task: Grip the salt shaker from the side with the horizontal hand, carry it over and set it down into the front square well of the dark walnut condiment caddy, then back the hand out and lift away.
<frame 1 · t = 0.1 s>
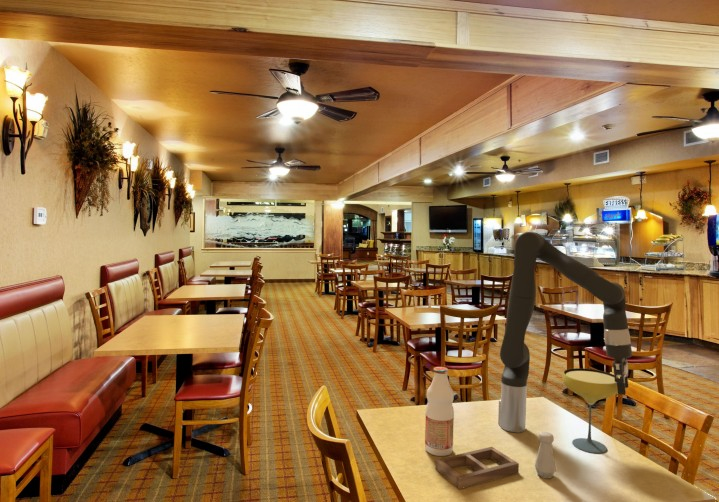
hand: (623, 390, 149), 22 cm above the table, tool pointing down, fingers open, 8 cm apart
cocktail glass: (589, 446, 157), on the table, touching gripper
fruit juice: (438, 450, 152), on the table
salt shaker: (544, 475, 137), on the table
caddy: (476, 471, 138), on the table
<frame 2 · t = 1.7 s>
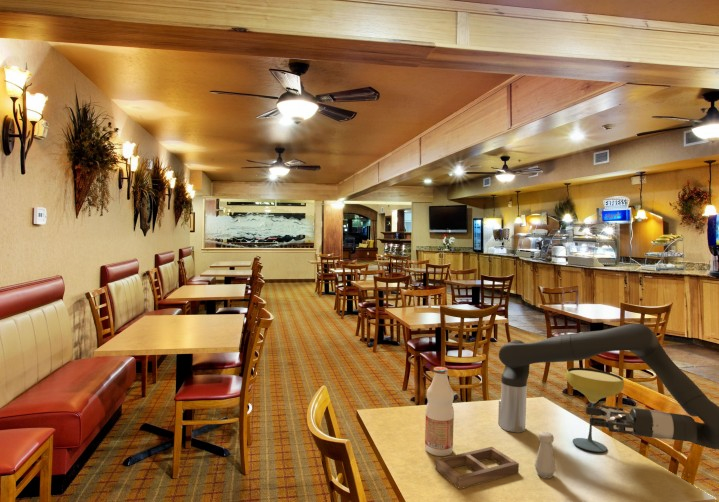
hand: (587, 415, 133), 20 cm above the table, tool horizontal, fingers open, 8 cm apart
cocktail glass: (589, 445, 157), on the table
everything else where it was.
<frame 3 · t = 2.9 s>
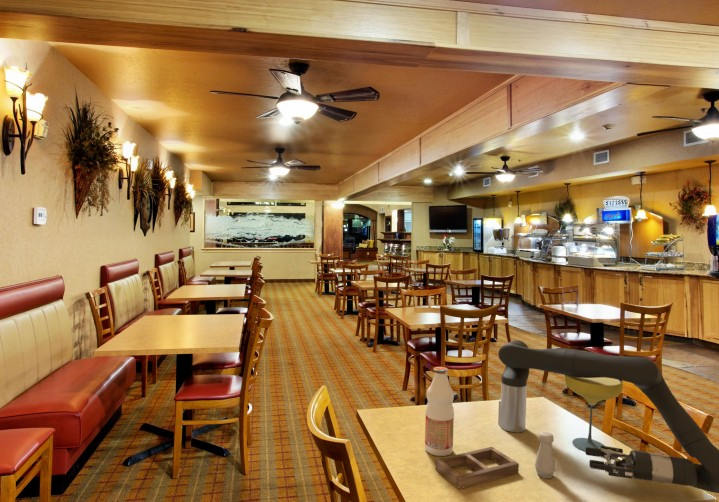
hand: (587, 457, 133), 8 cm above the table, tool horizontal, fingers open, 8 cm apart
cocktail glass: (589, 446, 157), on the table, touching arm
everything else where it was.
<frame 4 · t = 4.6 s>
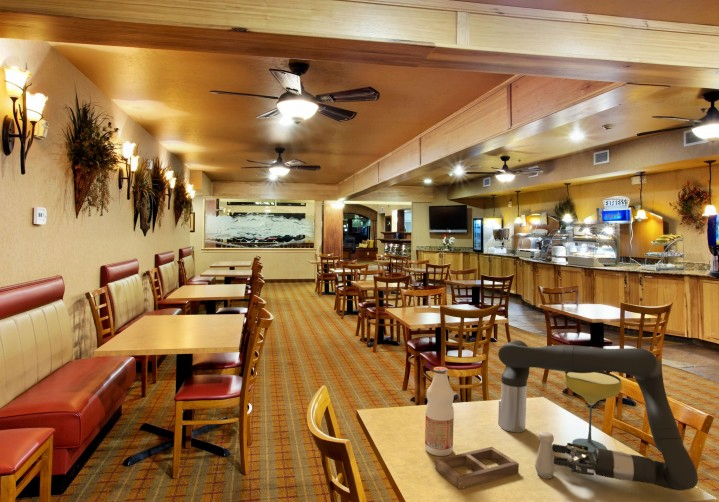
hand: (553, 453, 136), 7 cm above the table, tool horizontal, fingers open, 8 cm apart
cocktail glass: (589, 446, 157), on the table
everything else where it was.
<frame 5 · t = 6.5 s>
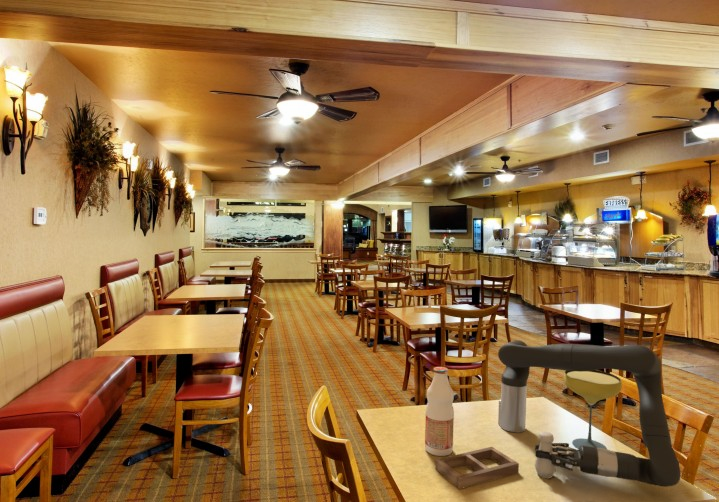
hand: (535, 450, 138), 7 cm above the table, tool horizontal, fingers closed on salt shaker, 3 cm apart
salt shaker: (544, 475, 137), on the table, touching gripper
everything else where it was.
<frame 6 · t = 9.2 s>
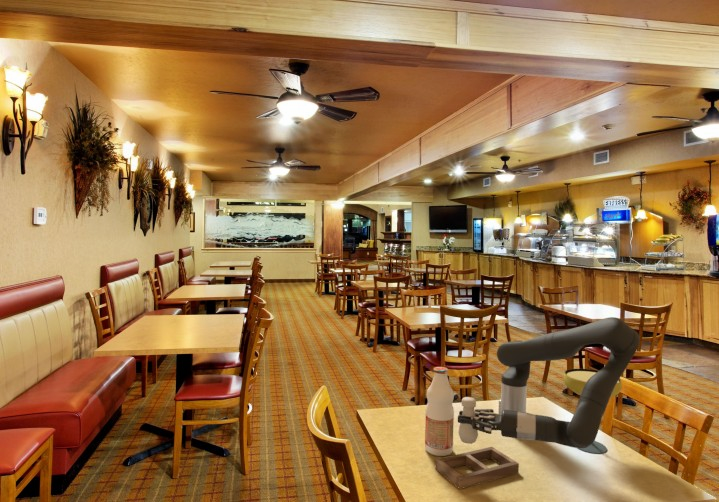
hand: (458, 416, 136), 18 cm above the table, tool horizontal, fingers closed on salt shaker, 3 cm apart
salt shaker: (468, 441, 136), point 10 cm above the table, touching gripper
everything else where it was.
when the fingers open (8 cm above the table, at t = 11.9 s): salt shaker drops 1 cm, resting in caddy.
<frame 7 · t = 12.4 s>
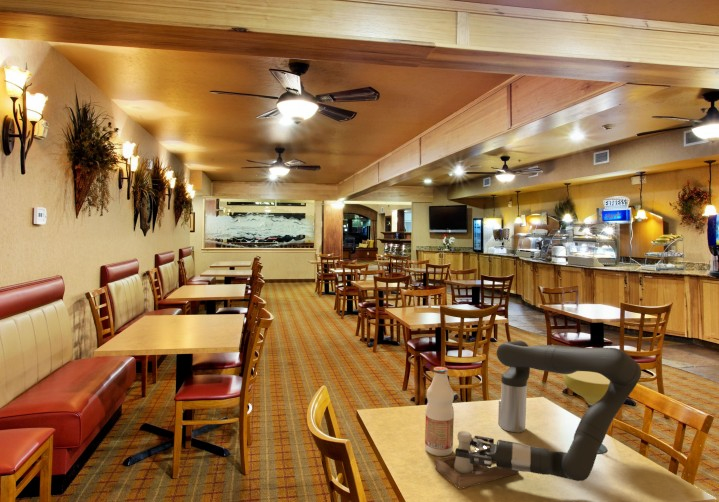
hand: (457, 446, 137), 9 cm above the table, tool horizontal, fingers open, 8 cm apart
salt shaker: (463, 475, 136), resting in caddy
everything else where it was.
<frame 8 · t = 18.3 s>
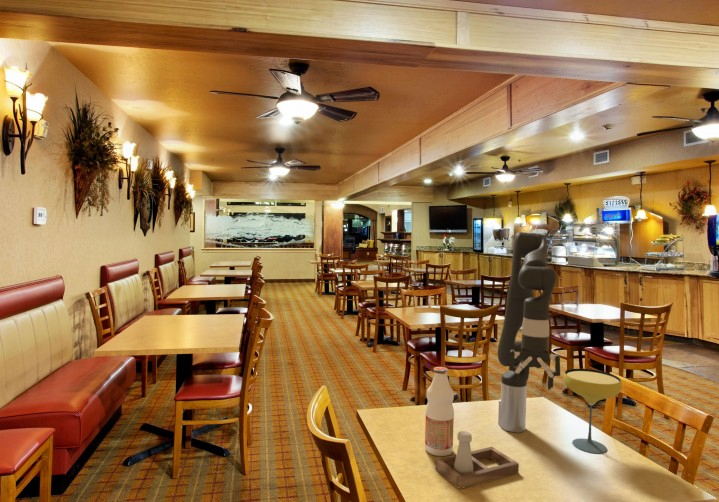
hand: (533, 387, 134), 28 cm above the table, tool pointing down, fingers open, 8 cm apart
nothing on the table moved.
at the end: salt shaker 0.1 cm from the target spot on the caddy, point 0.0 cm above the caddy's base; salt shaker tilted 0°; the gripper is holding nothing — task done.
